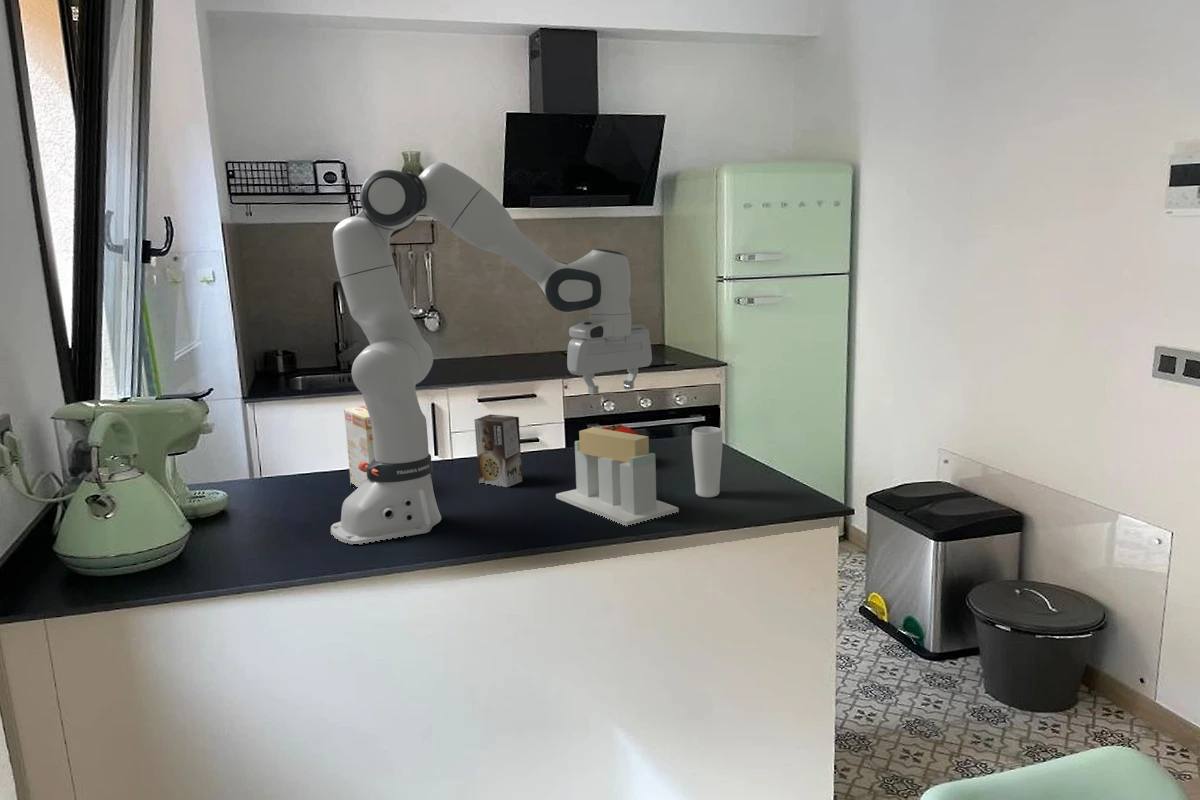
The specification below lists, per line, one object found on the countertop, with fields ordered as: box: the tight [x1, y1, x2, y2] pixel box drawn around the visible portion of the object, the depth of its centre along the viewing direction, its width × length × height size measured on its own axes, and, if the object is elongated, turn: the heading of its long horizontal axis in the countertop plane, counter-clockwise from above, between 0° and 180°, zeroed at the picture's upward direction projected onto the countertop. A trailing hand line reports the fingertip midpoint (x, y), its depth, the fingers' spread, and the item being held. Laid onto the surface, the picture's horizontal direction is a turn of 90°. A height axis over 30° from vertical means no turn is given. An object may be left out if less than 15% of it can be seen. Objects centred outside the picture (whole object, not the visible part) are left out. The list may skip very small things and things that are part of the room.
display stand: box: [555, 440, 680, 527], centre depth 188 cm, size 14×26×13 cm, turn 36°
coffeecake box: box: [343, 405, 375, 487], centre depth 205 cm, size 15×7×20 cm, turn 34°
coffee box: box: [473, 413, 523, 488], centre depth 208 cm, size 9×6×16 cm
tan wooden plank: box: [578, 427, 650, 463], centre depth 187 cm, size 4×16×5 cm, turn 48°
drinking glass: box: [691, 426, 723, 498], centre depth 193 cm, size 7×7×15 cm
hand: (611, 391), depth 184 cm, fingers open, 8 cm apart
